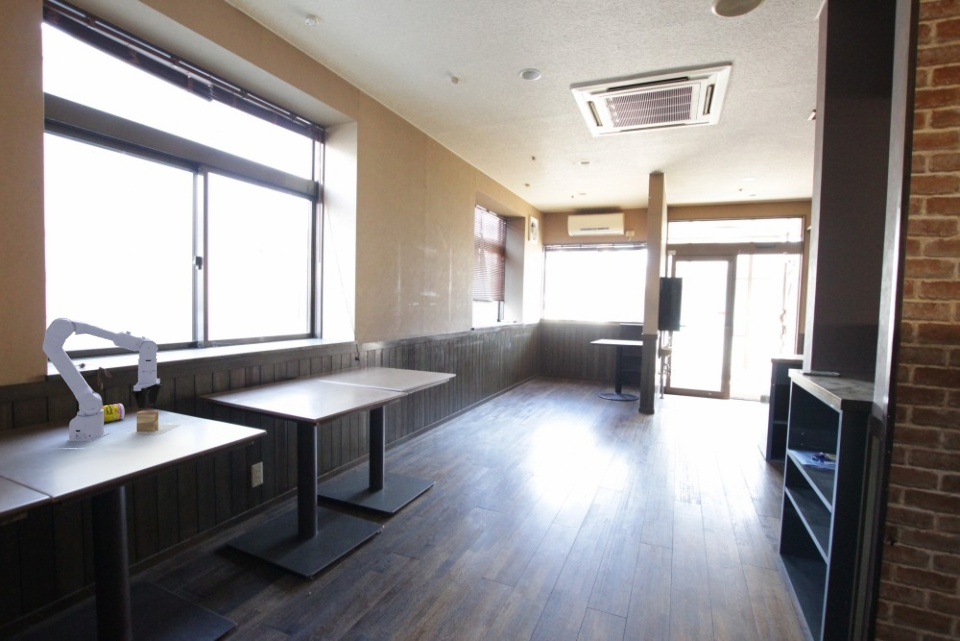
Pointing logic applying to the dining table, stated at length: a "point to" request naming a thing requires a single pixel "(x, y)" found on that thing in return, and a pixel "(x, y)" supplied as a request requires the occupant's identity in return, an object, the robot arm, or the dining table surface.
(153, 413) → the oak block
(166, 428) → the grey mat
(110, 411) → the supplement bottle
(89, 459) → the dining table surface
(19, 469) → the dining table surface
